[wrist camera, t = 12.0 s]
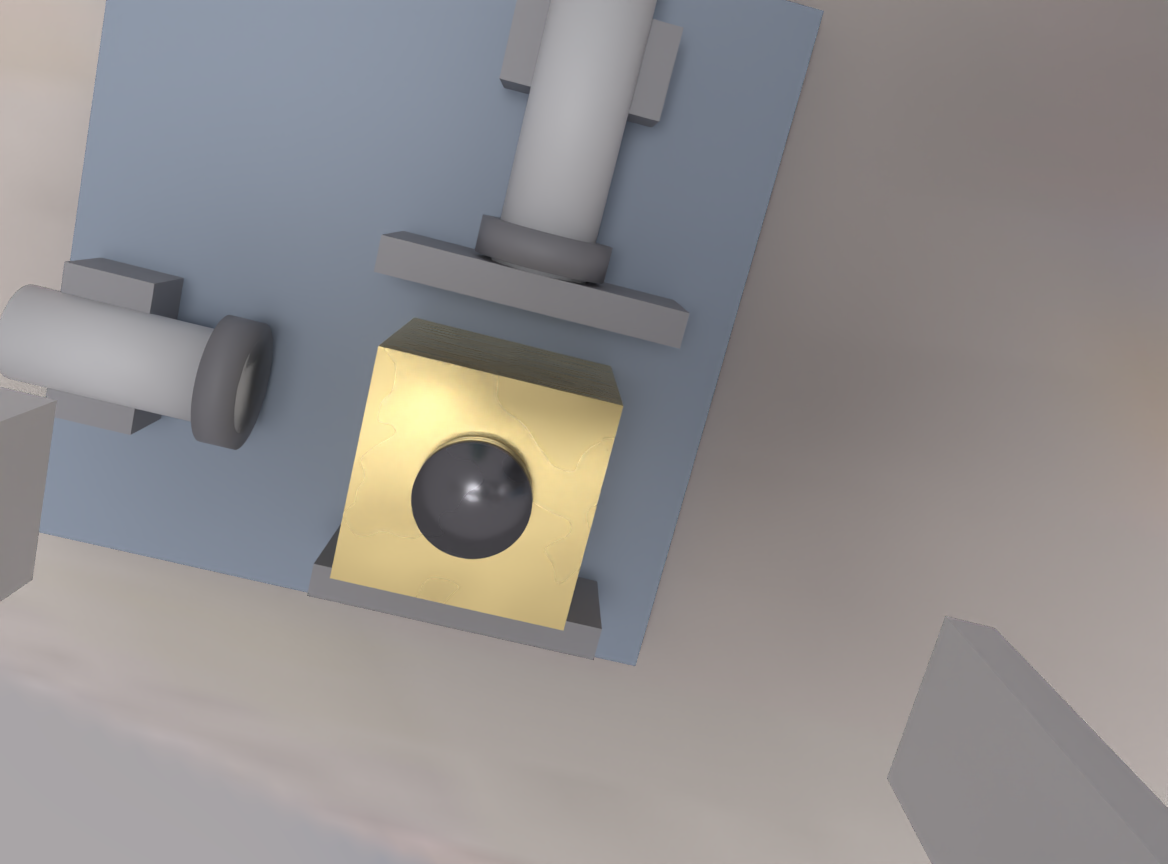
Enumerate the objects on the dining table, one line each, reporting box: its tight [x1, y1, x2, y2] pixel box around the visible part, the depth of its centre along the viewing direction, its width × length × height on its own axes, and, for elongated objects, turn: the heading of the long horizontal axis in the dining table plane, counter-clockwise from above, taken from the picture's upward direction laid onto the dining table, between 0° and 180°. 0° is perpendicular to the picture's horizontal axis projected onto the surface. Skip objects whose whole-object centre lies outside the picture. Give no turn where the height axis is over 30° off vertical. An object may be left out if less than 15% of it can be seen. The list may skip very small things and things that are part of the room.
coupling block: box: [330, 318, 623, 630], centre depth 22 cm, size 5×5×6 cm
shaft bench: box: [0, 0, 824, 666], centre depth 23 cm, size 17×16×4 cm
